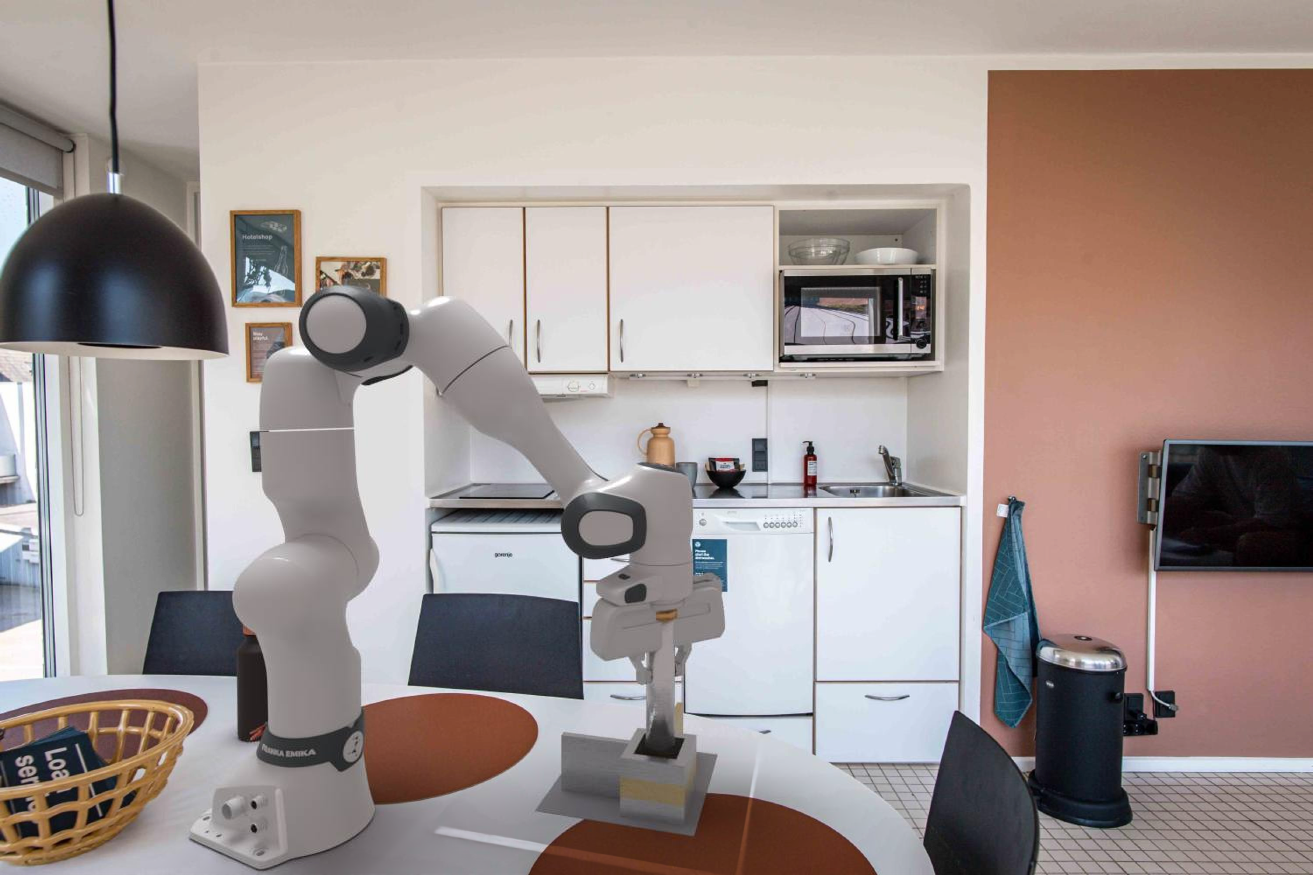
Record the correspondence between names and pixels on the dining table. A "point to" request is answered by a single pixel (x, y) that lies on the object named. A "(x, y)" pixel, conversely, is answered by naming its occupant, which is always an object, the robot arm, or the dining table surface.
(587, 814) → the base board
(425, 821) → the dining table surface
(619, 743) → the hinge
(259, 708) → the bottle
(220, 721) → the dining table surface
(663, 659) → the hinge pin
